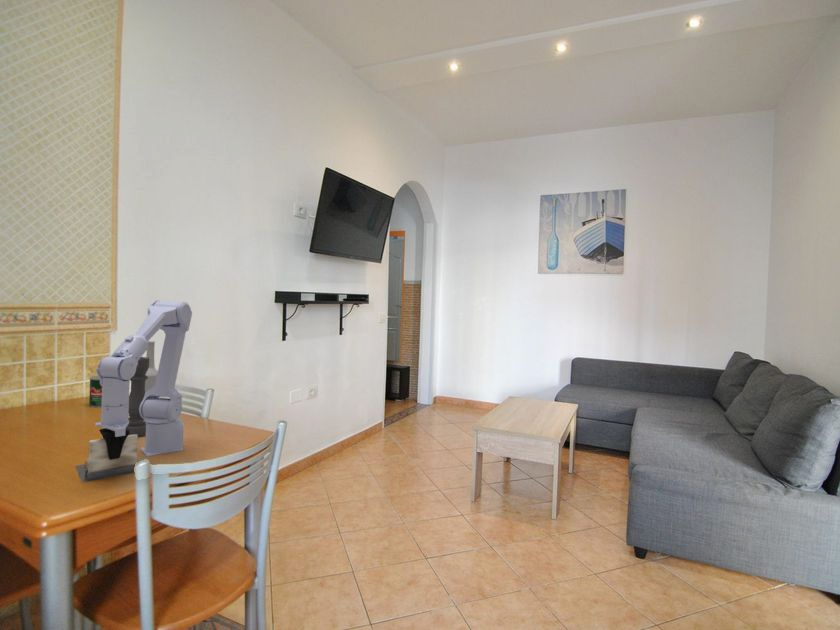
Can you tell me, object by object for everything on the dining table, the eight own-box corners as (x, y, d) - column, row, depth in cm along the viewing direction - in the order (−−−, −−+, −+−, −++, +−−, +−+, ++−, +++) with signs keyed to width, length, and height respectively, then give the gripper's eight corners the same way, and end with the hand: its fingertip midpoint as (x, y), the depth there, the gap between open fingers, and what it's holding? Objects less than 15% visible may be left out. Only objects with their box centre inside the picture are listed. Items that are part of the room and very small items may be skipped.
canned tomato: (112, 402, 184) (113, 375, 184) (114, 406, 178) (115, 378, 178) (88, 404, 179) (89, 376, 179) (89, 408, 173) (90, 379, 173)
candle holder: (136, 439, 141) (139, 360, 140) (119, 437, 142) (122, 358, 141) (152, 434, 147) (155, 357, 146) (135, 431, 148) (138, 356, 148)
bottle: (133, 418, 163) (135, 341, 162) (149, 414, 169) (152, 340, 169) (146, 420, 161) (149, 342, 160) (162, 416, 167) (165, 341, 167)
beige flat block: (135, 467, 118) (136, 433, 118) (136, 469, 117) (137, 435, 117) (88, 476, 111) (89, 440, 111) (89, 478, 110) (90, 442, 110)
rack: (133, 457, 126) (133, 450, 126) (144, 472, 117) (145, 464, 117) (75, 467, 117) (75, 459, 117) (82, 484, 108) (82, 475, 108)
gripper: (91, 400, 116) (89, 452, 116) (101, 412, 105) (99, 469, 106) (123, 397, 121) (121, 447, 121) (136, 408, 110) (134, 463, 111)
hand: (113, 457), depth 114 cm, fingers closed on beige flat block, 1 cm apart
